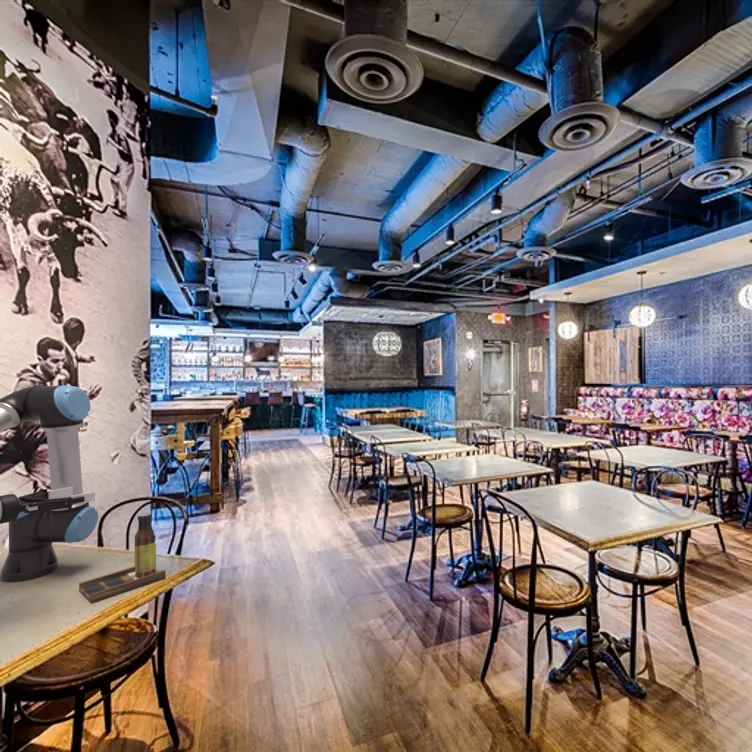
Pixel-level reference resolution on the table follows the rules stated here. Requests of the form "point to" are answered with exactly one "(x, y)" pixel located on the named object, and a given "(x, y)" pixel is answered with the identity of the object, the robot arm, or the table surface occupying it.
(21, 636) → the table surface
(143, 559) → the sauce bottle
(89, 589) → the trap channel board
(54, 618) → the table surface
